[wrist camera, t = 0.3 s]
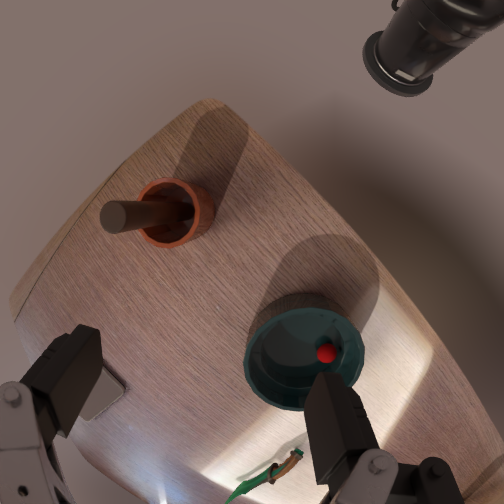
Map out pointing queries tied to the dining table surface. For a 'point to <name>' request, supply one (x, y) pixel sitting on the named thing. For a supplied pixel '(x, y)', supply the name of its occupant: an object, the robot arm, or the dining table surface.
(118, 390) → the smartphone
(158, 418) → the dining table surface
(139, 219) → the stirring stick
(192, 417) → the dining table surface
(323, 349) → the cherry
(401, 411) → the dining table surface
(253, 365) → the mixing bowl
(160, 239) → the utensil cup
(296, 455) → the knife
